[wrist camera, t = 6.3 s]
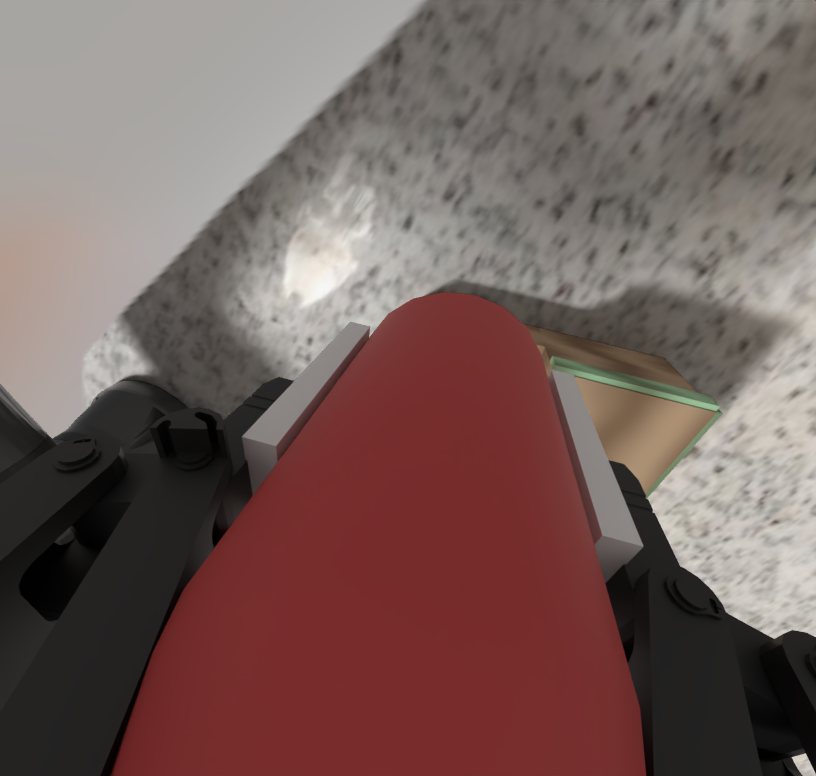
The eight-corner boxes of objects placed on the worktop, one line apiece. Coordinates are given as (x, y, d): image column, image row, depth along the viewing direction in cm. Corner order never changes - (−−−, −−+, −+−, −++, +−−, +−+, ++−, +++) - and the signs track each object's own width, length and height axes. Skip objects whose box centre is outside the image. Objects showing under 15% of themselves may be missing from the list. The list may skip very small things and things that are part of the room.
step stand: (401, 387, 36) (381, 435, 30) (420, 293, 31) (400, 326, 24) (611, 443, 35) (640, 506, 28) (673, 355, 29) (728, 409, 22)
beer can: (409, 450, 16) (272, 924, 6) (339, 324, 13) (-147, 808, 3) (560, 418, 13) (768, 1155, 3) (512, 254, 11) (873, 1617, 1)
